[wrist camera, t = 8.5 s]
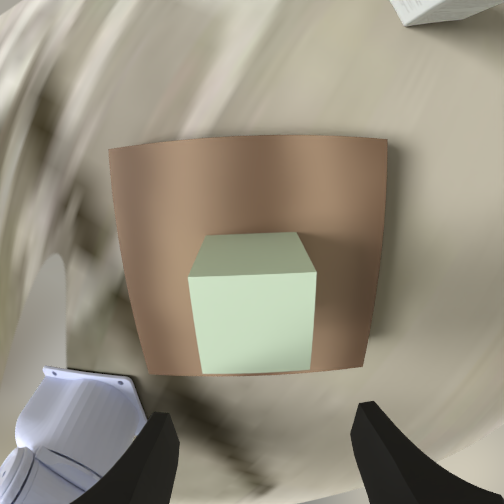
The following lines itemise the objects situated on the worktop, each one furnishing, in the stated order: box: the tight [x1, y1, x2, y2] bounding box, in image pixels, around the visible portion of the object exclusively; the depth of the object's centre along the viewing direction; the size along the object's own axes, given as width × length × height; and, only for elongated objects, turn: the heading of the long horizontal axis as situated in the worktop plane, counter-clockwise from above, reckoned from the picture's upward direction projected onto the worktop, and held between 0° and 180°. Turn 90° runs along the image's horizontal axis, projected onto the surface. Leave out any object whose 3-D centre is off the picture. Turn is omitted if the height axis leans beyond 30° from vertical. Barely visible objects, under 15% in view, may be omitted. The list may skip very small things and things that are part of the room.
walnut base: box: [108, 135, 387, 376], centre depth 18 cm, size 14×14×3 cm
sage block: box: [188, 232, 317, 374], centre depth 14 cm, size 4×4×5 cm
